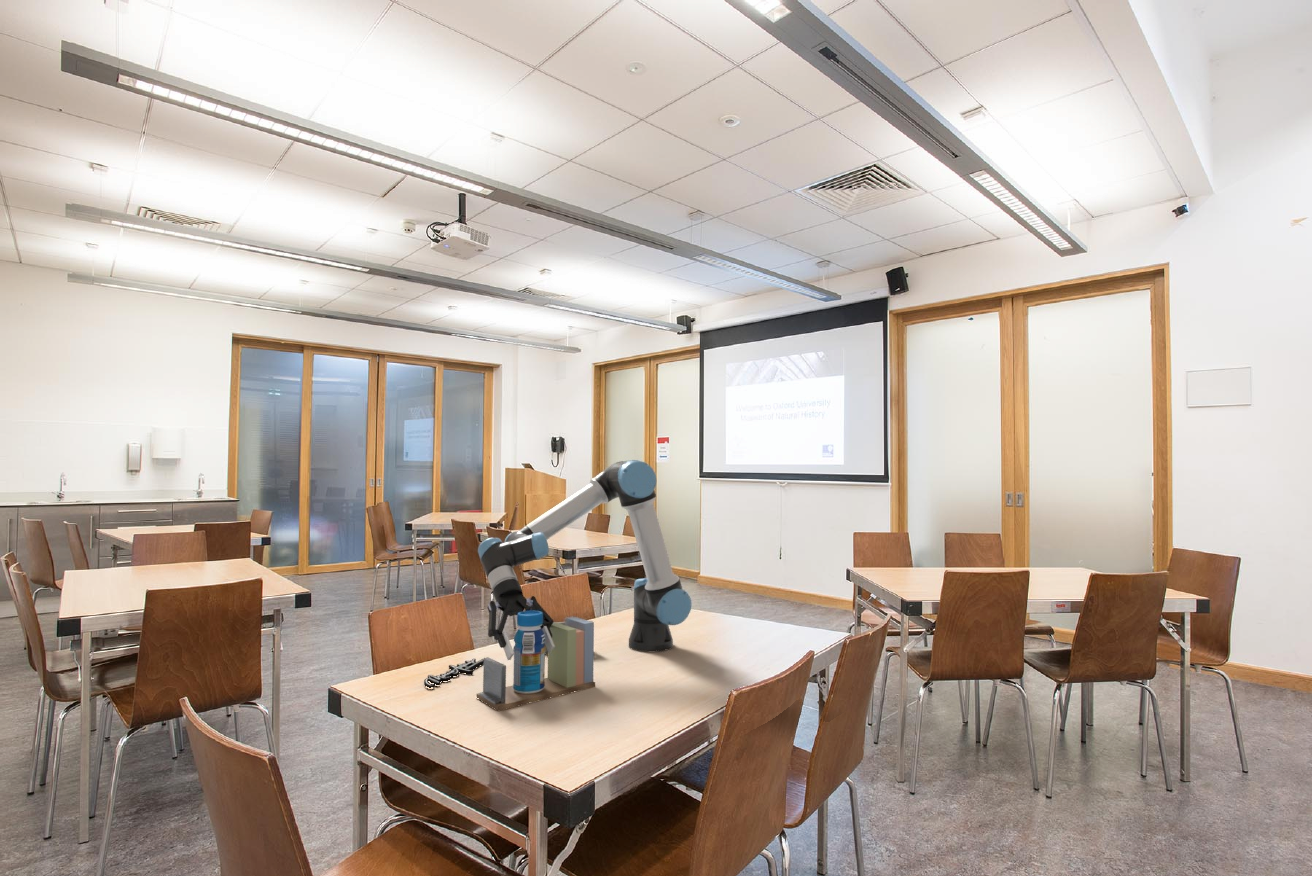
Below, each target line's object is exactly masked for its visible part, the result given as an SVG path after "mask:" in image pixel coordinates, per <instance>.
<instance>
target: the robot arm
mask: <svg viewBox="0 0 1312 876" xmlns="http://www.w3.org/2000/svg"><path fill="white" fill-rule="evenodd" d="M657 481H658V480H657V475H656V472H655V471H654V468H653V467H651V465H649V464H648V463H647V462H645V461H642V460H638V459H636V460H635V459H631V460H624V461H623V460H619V461H617V462H614V463H612V464H610V466H607V468H605V469H603V470H602V471H601V472H600V473H598V474H597V475H595V476H594V477H593V478H591V479H590V480H589V484H587V485H586V486H584V487H583V488H582V489H579V490H578V491H577V492H575V493H573V494H572V495H571V496H569V497H567V498H566V499H565V500H563V501H561V502H560V503H558V504H557V505H555V506H554V507H552V508H551V509H549V510H548V511H546V512H544V513H543V514H541V515H540V516H539V517H537V518H536V519H534V520H532V521H531V522H530V523H528V524H527V525H525V526H524V527H522V528H520V529H519V530H517V531H513V532H510V533H509V534H507V536H506V537H505V539H504V542H503V541H502V539H501V538H499V537H489V538H487V539H485V540H483V541H482V542H481V543H480V544H479V545H478V547H477V553H478V556H479V561H480V563H481V565H482V567H483V570H484V573H485V575H486V578H487V580H488V583H489V585H490V586H489V587H490V588H491V591H492V594H493V597H494V600H495V601H494V600H490V601H489V603H488V605H487V611H488V613H489V614H488V625H487V626H488V629H487V637H488V638H492V637H493V639H494V640H495V641H497V643H498V645H499V647H500V648H501V649H502V648H503V650H504V653H505V657H506V659H507V661H511V660H512V658H513V657H514V652H513V646H512V644H511V642H510V638H509V636H508V633H507V632H506V631H504V629H505V626H506V623H507V620H508V617H513V616H517V614H518V613H519V612H522V611H541V612H542V613H543V624H542V626H540V627H541V629H542V630H543V632H544V634H545V641H544V643H545V645H546V648H547V650H548V653H550V652H551V651H552V650H553V648H554V647H555V645H554V643H553V641H552V633H551V630H550V627H551V625H552V624H553V623H555V621H554V619H553V618H552V617H551V616H550V615H549V613H548V612H546V610H545V609H544V608H543V607H542V606H541V605H540V604H539V602H538V601H537V599H536V596H534V595H531V597H530V598H526V597H525V596H524V594H523V589H522V587H521V585H520V582H519V580H518V577H517V574H516V572H515V570H514V567H518V566H520V565H523V564H526V563H529V562H533V561H536V560H540V559H542V558H544V557H547V556H548V555H549V553H550V548H549V543H548V540H549V539H550V538H552V537H553V536H555V535H556V534H558V533H559V532H561V531H563V530H564V529H565V528H567V527H569V526H570V525H572V524H573V523H574V522H576V521H577V520H579V519H580V518H582V517H583V516H585V515H586V514H588V513H589V512H590V511H592V510H594V509H595V508H596V507H598V506H599V505H601V504H608V503H609V502H612V501H613V500H615V499H617V498H618V499H619V502H620V503H619V504H620V506H621V508H622V509H624V510H626V511H627V513H628V517H629V520H630V525H631V527H632V528H631V529H632V531H633V533H634V538H635V541H636V545H637V549H638V552H639V554H640V559H641V562H642V565H643V566H642V567H643V570H644V572H645V573H644V574H645V576H646V577H644V578H638V579H637V578H636V580H634V584H633V585H634V586H633V625H632V628H631V632H630V635H629V638H628V647H629V648H630V649H631V648H632V649H631V650H634V651H638V652H647V651H655V652H662V651H668V650H671V649H672V648H674V641H673V640H674V639H673V635H672V632H671V629H670V626H676V625H680V624H682V623H683V622H685V621H686V619H687V618H688V617H689V615H690V613H691V611H692V606H693V605H692V599H691V596H690V595H689V593H688V592H687V591H686V590H684V589H683V586H682V582H681V580H680V577H679V576H678V575H677V574H675V573H674V571H673V568H672V566H671V565H672V564H671V562H670V557H669V554H668V550H667V547H666V543H665V540H664V536H663V533H662V531H661V525H660V522H659V519H658V515H657V511H656V508H655V504H654V502H655V500H656V499H657V494H656V491H655V490H656V489H655V488H656V486H657ZM497 609H499V610H500V611H501V612H502V615H501V618H500V620H499V623H498V626H497V612H498V611H497ZM503 631H504V632H503ZM670 648H671V649H670Z"/></svg>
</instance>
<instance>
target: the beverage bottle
mask: <svg viewBox="0 0 1312 876" xmlns="http://www.w3.org/2000/svg"><path fill="white" fill-rule="evenodd" d="M516 624H517V627H518V629H517V630H516V633H515V635H514V638H513V642H514V646H513V647H512V649H513V652H514V655H513V684H512V686H513V690H514V691H515V692H517V693H520V694H533V693H537V692H540V691H542V690H543V689H544V687H545V682H544V678H546V676H545V674H546V673H545V672H546V671H545V670H546V669H545V667H546V654H545V651H546V646H545V644H544V641H545V634H544V632H543V630H542V629H541V627H540V626H542V624H543V613H542V612H541V611H525V610H523V611H522V612H519V613H518V614H517V615H516Z"/></svg>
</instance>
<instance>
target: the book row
mask: <svg viewBox="0 0 1312 876" xmlns="http://www.w3.org/2000/svg"><path fill="white" fill-rule="evenodd" d="M591 621H592V620H588V619H584V618H580V617H577V616H567V617H565V618H564V622H565V625H562V624H559V623H555V622H553V624H552V625H551V627H550V630H551V633H552V641H553V643H554V645H555V647H554V648H553V650H552V651H551V652H550V653H548V654H547V678H548V679H549V680H551V681H553V682H555V683H558V684H560V685H562V686H564V687H566V688H568V687H572V686H576V685H580V684H585V683H589V682H594V662H595V661H594V658H595V657H594V655H595V654H594V653H595V652H594V651H595V650H594V646H595V645H594V643H595V642H594V641H595V639H594V638H595V631H594V630H595V623H594V621H593V622H591Z"/></svg>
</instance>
